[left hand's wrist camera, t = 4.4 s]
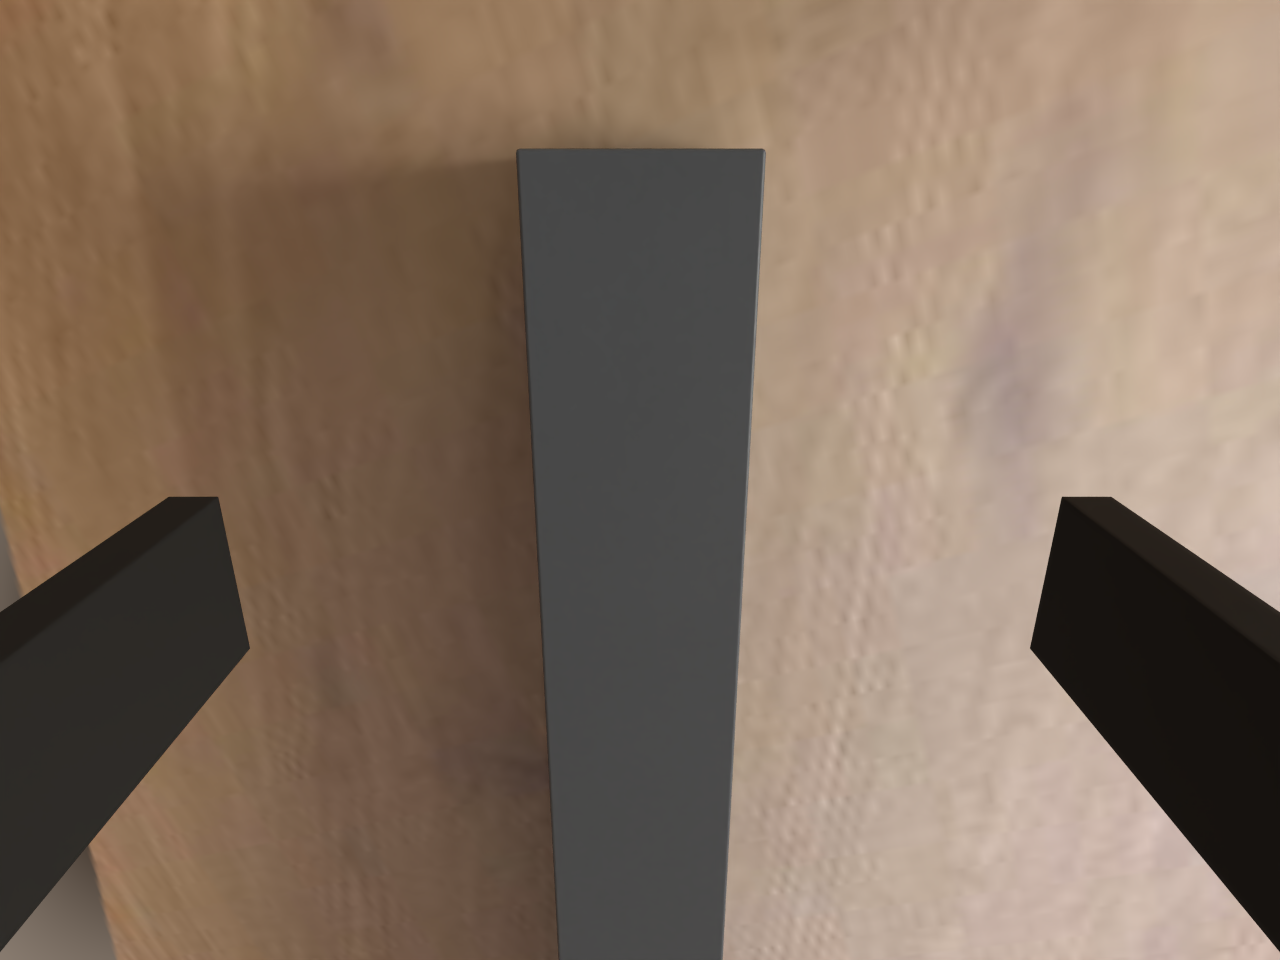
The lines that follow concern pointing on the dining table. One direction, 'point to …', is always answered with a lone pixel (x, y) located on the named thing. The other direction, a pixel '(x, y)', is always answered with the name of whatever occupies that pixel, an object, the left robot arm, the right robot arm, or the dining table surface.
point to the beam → (640, 526)
